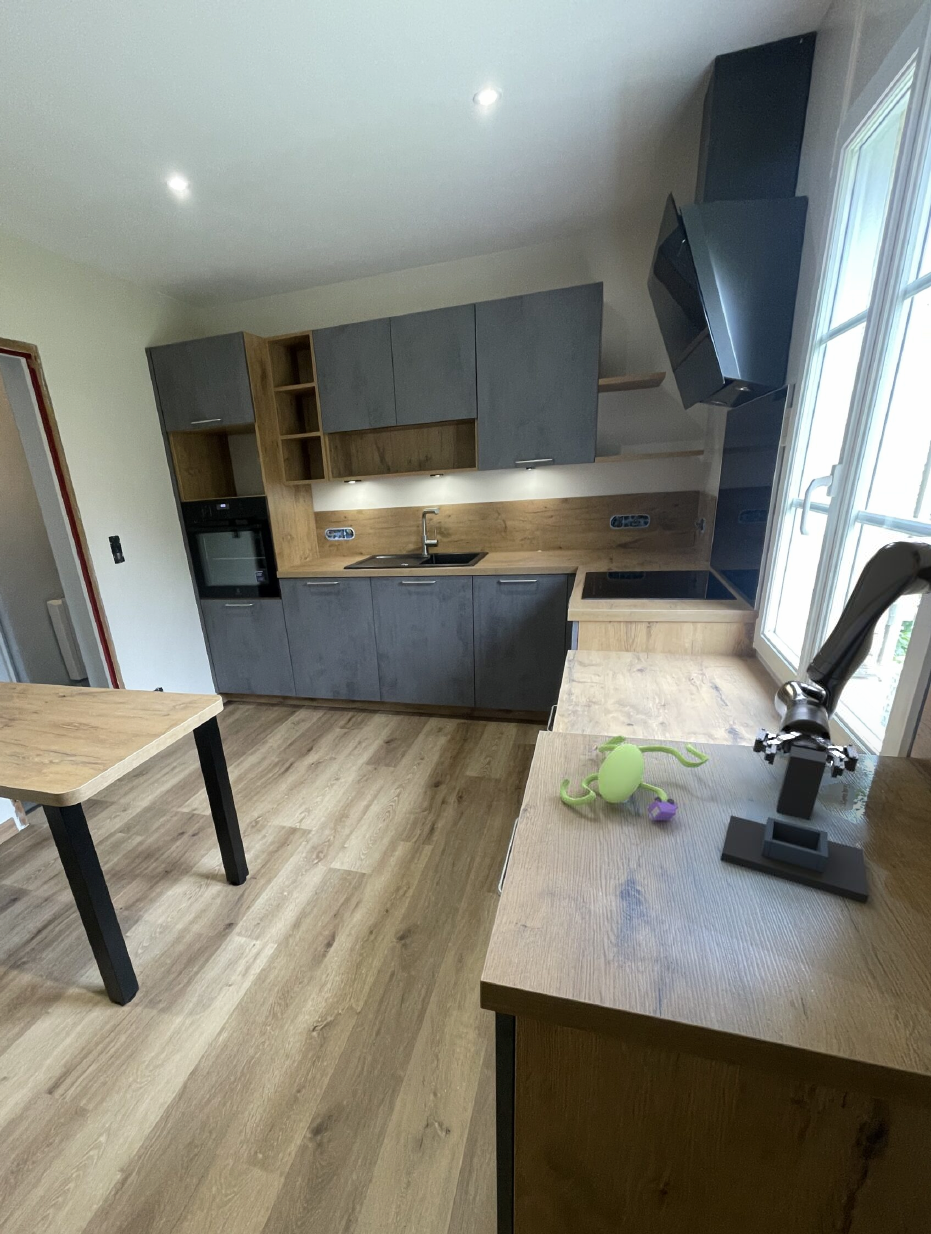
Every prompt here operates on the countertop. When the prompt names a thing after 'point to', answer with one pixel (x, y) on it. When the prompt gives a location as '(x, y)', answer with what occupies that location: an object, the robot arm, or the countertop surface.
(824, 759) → the black rectangular block
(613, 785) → the figurine
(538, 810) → the countertop surface
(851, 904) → the countertop surface
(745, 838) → the black socket base
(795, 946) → the countertop surface
